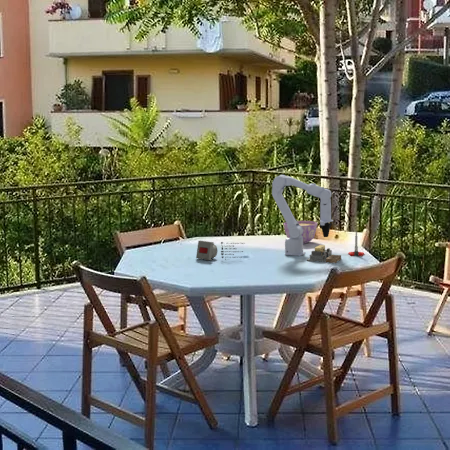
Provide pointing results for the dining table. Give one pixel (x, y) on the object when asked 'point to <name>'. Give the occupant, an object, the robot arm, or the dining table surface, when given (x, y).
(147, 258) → the dining table surface
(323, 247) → the link bar
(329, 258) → the block
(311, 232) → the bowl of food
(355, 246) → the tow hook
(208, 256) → the voltmeter
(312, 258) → the grey stepped metal block
